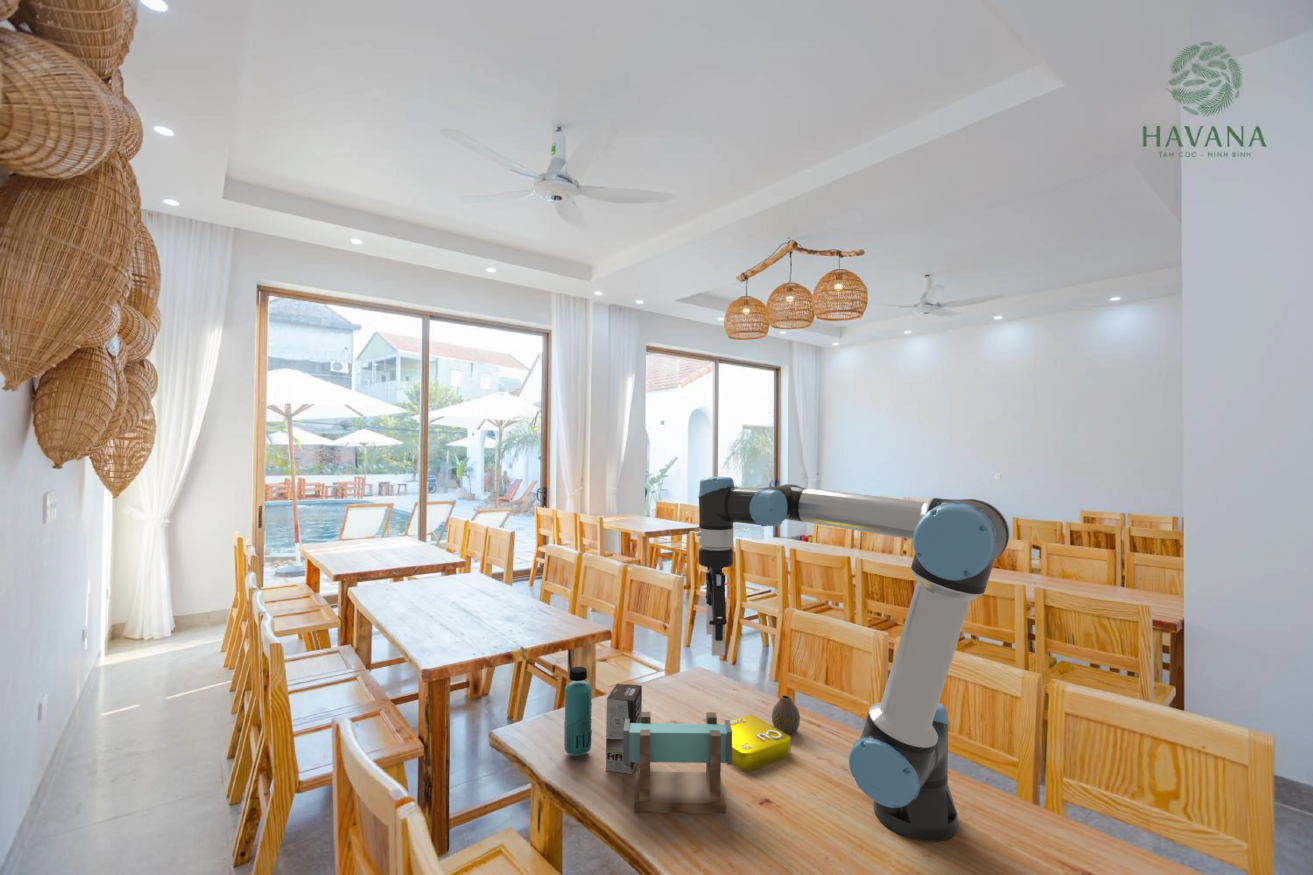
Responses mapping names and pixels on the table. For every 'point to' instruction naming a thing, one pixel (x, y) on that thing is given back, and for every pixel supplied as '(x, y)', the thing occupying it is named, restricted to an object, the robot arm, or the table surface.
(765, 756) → the element tile
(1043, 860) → the table surface
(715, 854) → the table surface
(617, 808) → the table surface
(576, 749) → the beverage bottle
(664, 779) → the rack
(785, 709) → the vase
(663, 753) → the teal bar
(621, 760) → the coffee box
